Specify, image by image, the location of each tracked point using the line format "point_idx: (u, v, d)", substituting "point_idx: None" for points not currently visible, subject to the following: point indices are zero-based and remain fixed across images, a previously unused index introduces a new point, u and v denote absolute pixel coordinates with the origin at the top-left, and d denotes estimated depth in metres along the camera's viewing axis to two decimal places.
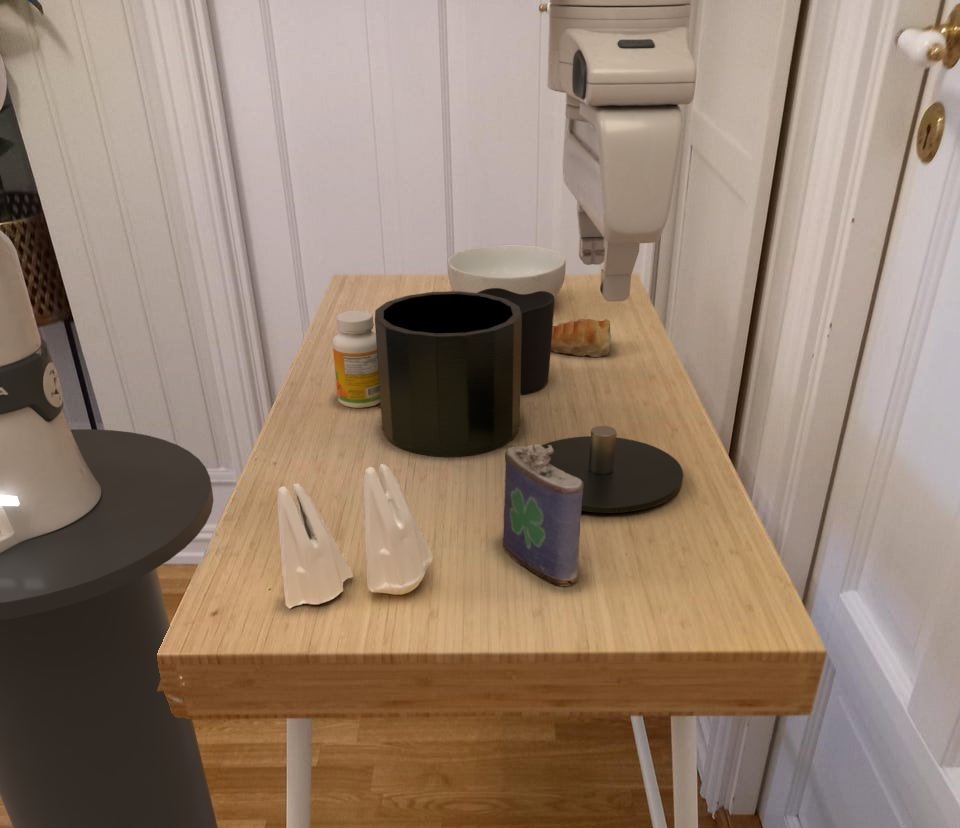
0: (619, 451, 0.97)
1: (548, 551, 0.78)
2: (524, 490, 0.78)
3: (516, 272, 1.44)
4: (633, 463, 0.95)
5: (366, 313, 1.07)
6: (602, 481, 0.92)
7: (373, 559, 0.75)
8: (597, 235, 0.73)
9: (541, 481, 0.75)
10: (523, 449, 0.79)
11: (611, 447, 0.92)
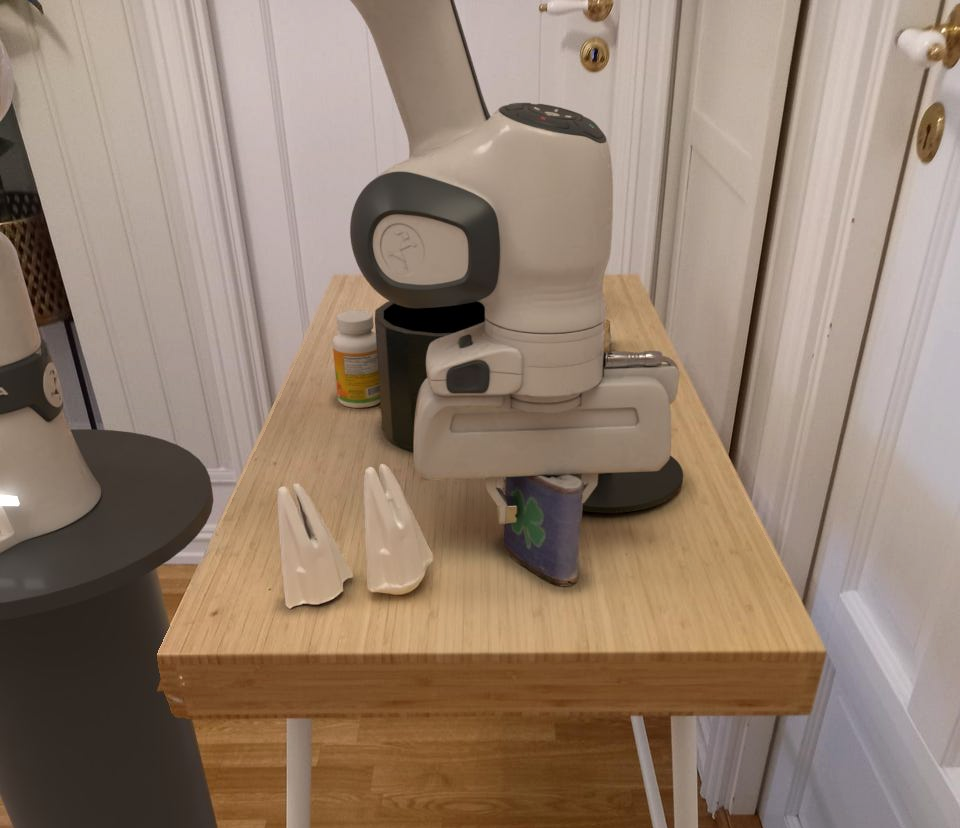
0: None
1: (548, 551, 0.78)
2: (524, 490, 0.78)
3: None
4: None
5: (366, 313, 1.07)
6: (602, 481, 0.92)
7: (373, 559, 0.75)
8: None
9: (541, 481, 0.75)
10: None
11: None
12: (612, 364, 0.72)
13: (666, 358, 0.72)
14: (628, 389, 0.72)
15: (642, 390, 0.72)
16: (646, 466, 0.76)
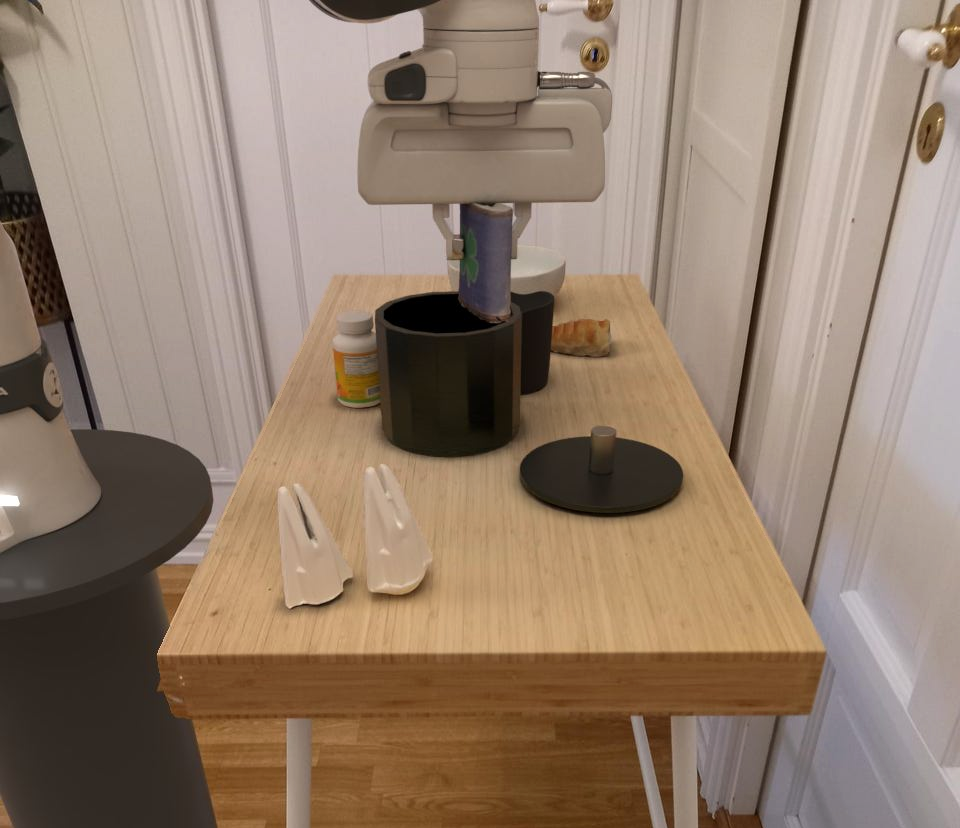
0: (619, 451, 0.97)
1: (480, 285, 0.81)
2: (466, 222, 0.81)
3: (516, 272, 1.44)
4: (633, 463, 0.95)
5: (366, 313, 1.07)
6: (602, 481, 0.92)
7: (373, 559, 0.75)
8: None
9: (475, 207, 0.78)
10: None
11: (611, 447, 0.92)
12: (546, 83, 0.75)
13: (599, 79, 0.75)
14: (561, 107, 0.75)
15: (575, 108, 0.75)
16: (581, 195, 0.79)
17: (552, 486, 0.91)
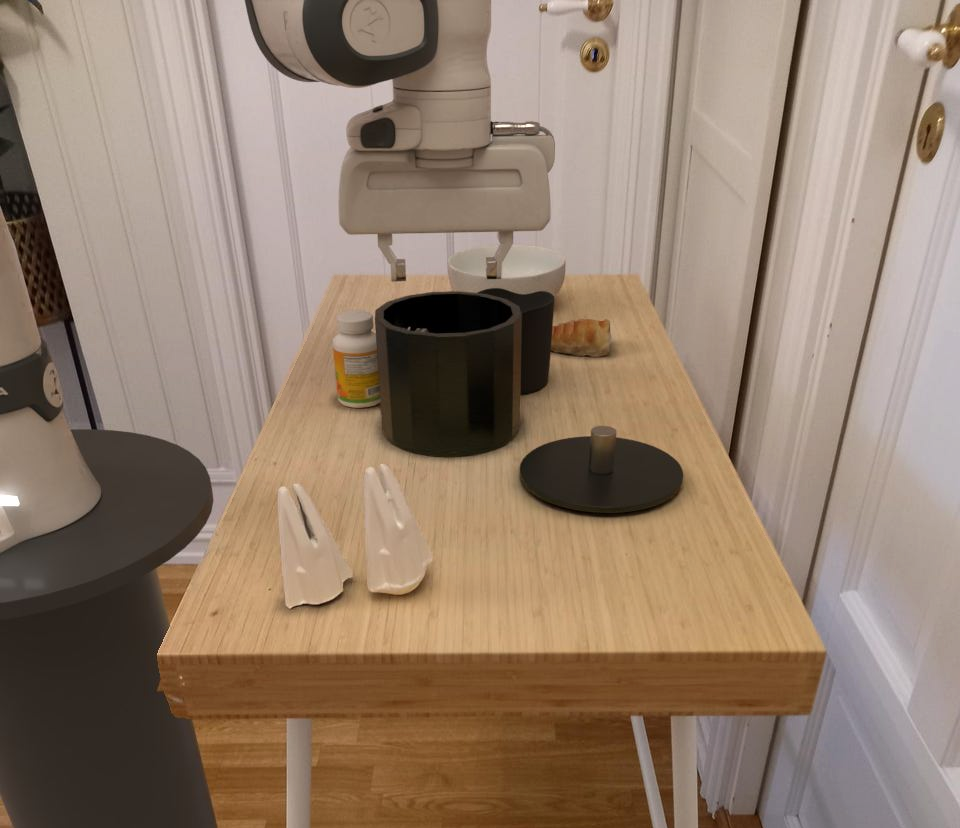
0: (619, 451, 0.97)
1: None
2: None
3: (516, 272, 1.44)
4: (633, 463, 0.95)
5: (366, 313, 1.07)
6: (602, 481, 0.92)
7: (373, 559, 0.75)
8: (495, 258, 0.95)
9: None
10: None
11: (611, 447, 0.92)
12: (498, 131, 0.88)
13: (543, 128, 0.89)
14: (511, 152, 0.88)
15: (523, 153, 0.88)
16: (531, 225, 0.92)
17: (552, 486, 0.91)
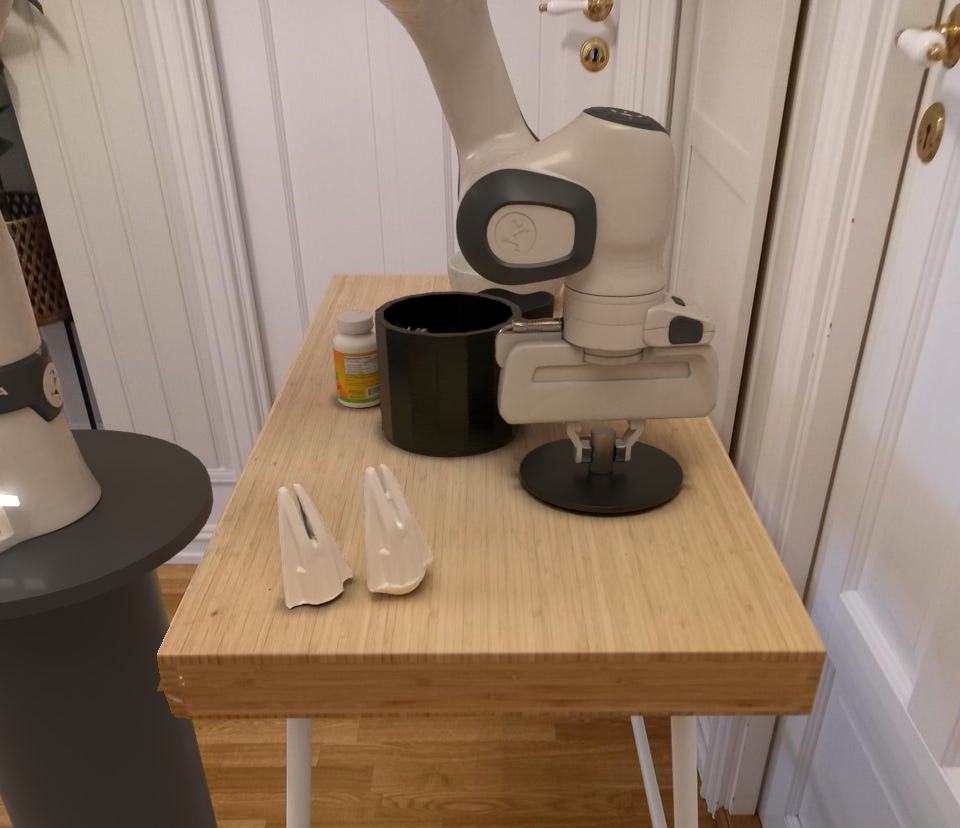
0: None
1: None
2: None
3: None
4: (633, 463, 0.95)
5: (366, 313, 1.07)
6: (602, 481, 0.92)
7: (373, 559, 0.75)
8: (581, 441, 0.93)
9: None
10: None
11: (611, 447, 0.92)
12: None
13: (507, 325, 0.85)
14: None
15: None
16: None
17: (552, 486, 0.91)
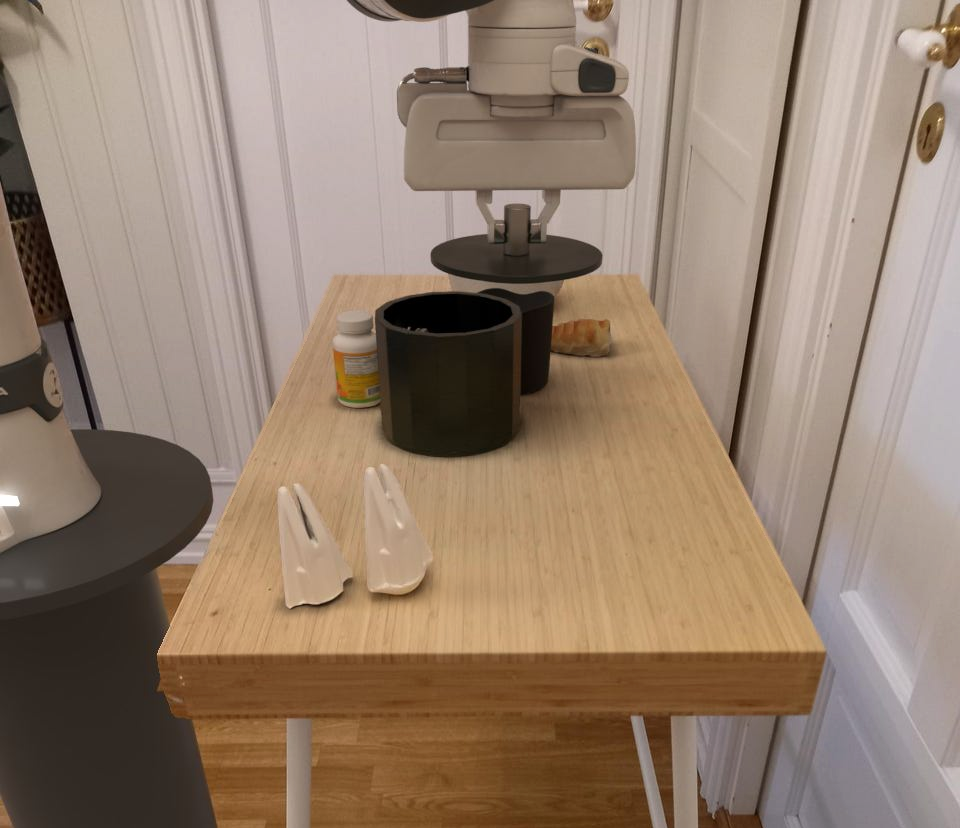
0: None
1: None
2: None
3: None
4: (551, 249, 0.90)
5: (366, 313, 1.07)
6: (515, 260, 0.87)
7: (373, 559, 0.75)
8: None
9: None
10: None
11: (525, 224, 0.86)
12: None
13: None
14: None
15: None
16: None
17: (461, 262, 0.86)
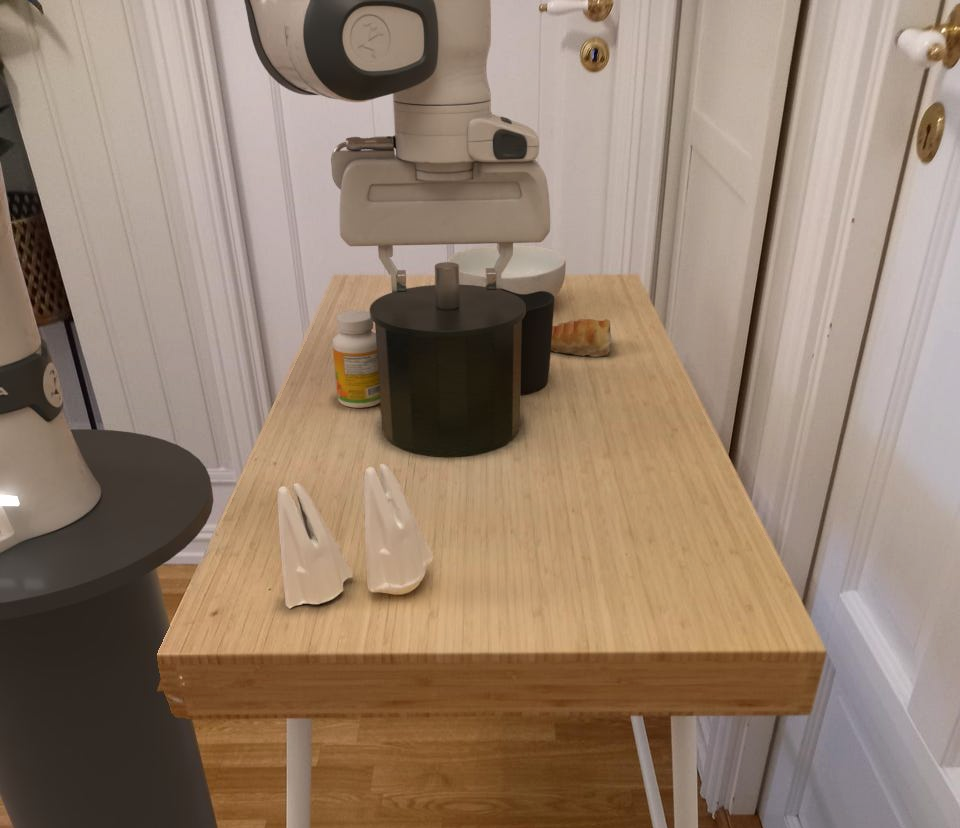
0: (471, 294, 1.01)
1: None
2: None
3: (516, 272, 1.44)
4: (480, 302, 0.99)
5: (366, 313, 1.07)
6: (445, 314, 0.96)
7: (373, 559, 0.75)
8: (396, 270, 0.96)
9: None
10: None
11: (454, 281, 0.95)
12: None
13: None
14: None
15: None
16: None
17: (396, 317, 0.95)
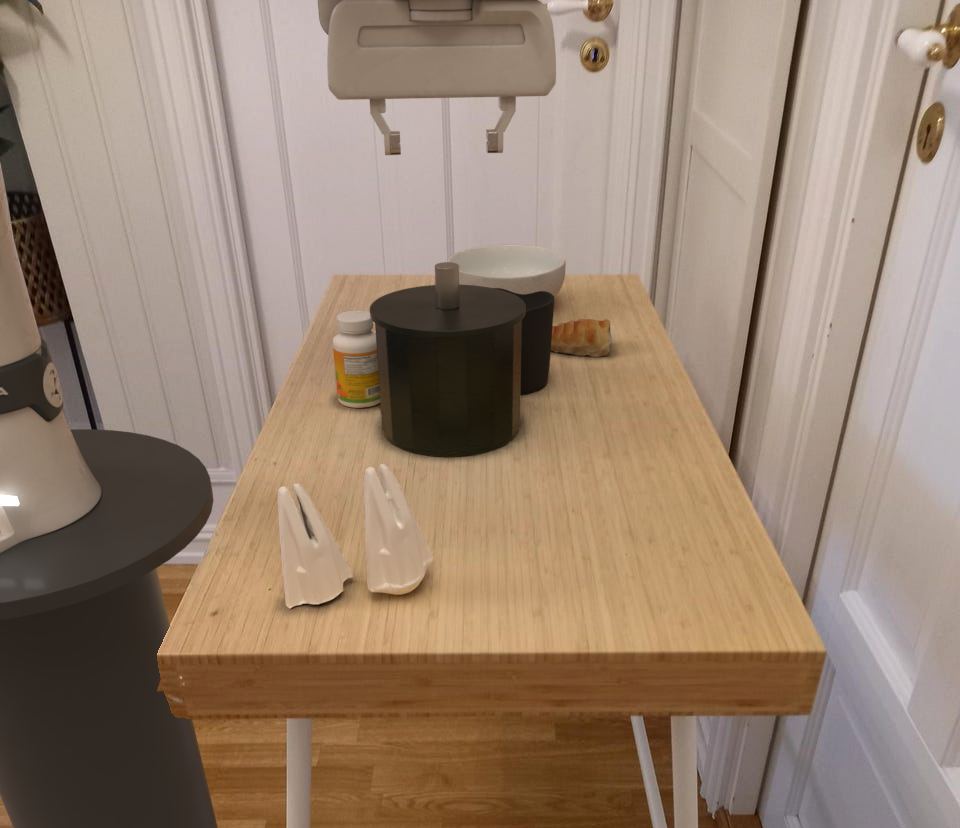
0: (471, 294, 1.01)
1: None
2: None
3: (516, 272, 1.44)
4: (480, 302, 0.99)
5: (366, 313, 1.07)
6: (445, 314, 0.96)
7: (373, 559, 0.75)
8: (390, 130, 0.88)
9: None
10: None
11: (454, 281, 0.95)
12: None
13: None
14: None
15: None
16: None
17: (396, 317, 0.95)
